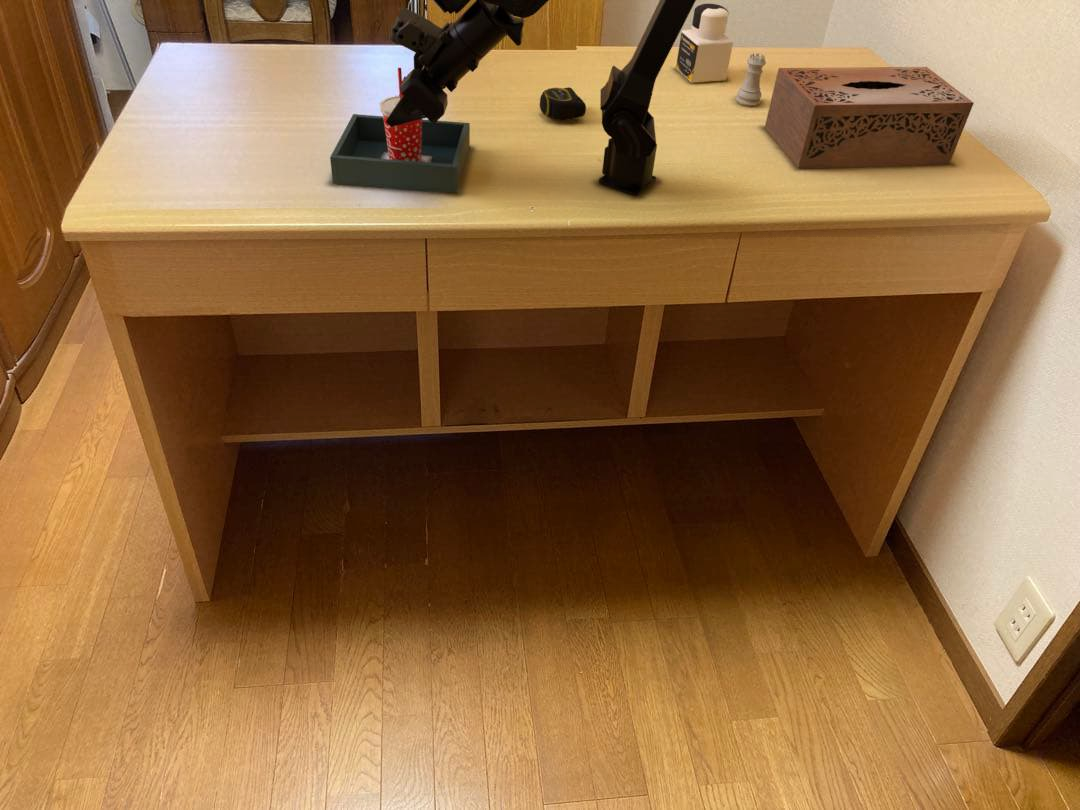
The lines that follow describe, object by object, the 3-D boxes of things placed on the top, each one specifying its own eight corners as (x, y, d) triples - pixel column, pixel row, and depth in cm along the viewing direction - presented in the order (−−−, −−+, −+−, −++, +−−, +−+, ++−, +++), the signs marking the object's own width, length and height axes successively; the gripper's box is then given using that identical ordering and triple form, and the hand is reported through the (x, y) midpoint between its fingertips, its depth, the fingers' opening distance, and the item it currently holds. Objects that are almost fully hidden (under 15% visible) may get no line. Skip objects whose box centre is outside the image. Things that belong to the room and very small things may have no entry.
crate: (469, 147, 133) (469, 122, 130) (457, 193, 122) (457, 167, 119) (355, 139, 133) (353, 113, 130) (332, 183, 122) (329, 157, 119)
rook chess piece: (765, 105, 151) (776, 59, 146) (743, 108, 150) (753, 61, 144) (751, 95, 154) (761, 50, 149) (730, 98, 153) (739, 52, 147)
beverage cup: (379, 157, 128) (371, 62, 119) (419, 152, 130) (414, 57, 121) (391, 176, 124) (383, 79, 115) (432, 169, 126) (428, 73, 117)
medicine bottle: (675, 68, 162) (685, 1, 154) (709, 66, 164) (721, -1, 156) (690, 83, 157) (702, 14, 149) (726, 81, 159) (739, 12, 151)
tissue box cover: (797, 168, 133) (814, 105, 127) (764, 128, 144) (778, 68, 137) (949, 164, 137) (973, 102, 131) (906, 125, 148) (926, 66, 141)
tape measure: (586, 123, 142) (588, 100, 139) (546, 126, 140) (548, 103, 137) (572, 106, 146) (574, 84, 144) (533, 109, 145) (535, 86, 142)
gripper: (435, -31, 118) (362, 47, 125) (412, 14, 104) (332, 98, 111) (493, 33, 123) (419, 103, 130) (478, 83, 109) (397, 159, 117)
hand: (392, 114), depth 122 cm, fingers closed on beverage cup, 6 cm apart
